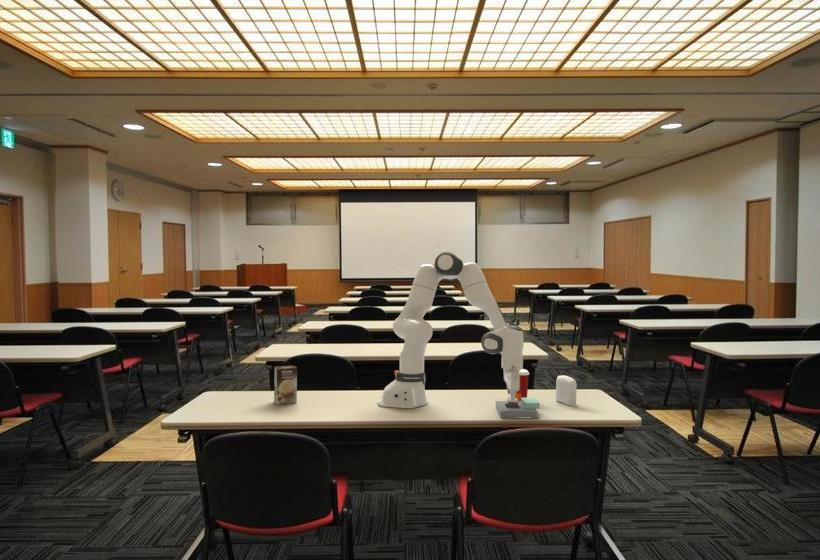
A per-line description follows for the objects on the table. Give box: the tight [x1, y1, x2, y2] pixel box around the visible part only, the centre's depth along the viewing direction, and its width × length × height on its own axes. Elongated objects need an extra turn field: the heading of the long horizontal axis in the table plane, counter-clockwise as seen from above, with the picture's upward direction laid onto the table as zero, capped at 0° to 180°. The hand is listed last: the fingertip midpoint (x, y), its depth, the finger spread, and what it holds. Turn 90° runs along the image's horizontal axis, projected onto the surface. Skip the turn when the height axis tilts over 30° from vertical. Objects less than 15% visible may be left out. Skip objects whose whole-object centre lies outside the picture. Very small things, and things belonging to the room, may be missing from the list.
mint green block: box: [521, 397, 540, 410], centre depth 210 cm, size 6×8×2 cm
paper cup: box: [515, 368, 530, 401], centre depth 229 cm, size 8×8×14 cm
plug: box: [506, 397, 518, 408], centre depth 211 cm, size 4×4×6 cm
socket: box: [495, 400, 538, 419], centre depth 211 cm, size 15×14×3 cm
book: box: [555, 375, 578, 407], centre depth 226 cm, size 10×4×12 cm, turn 25°
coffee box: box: [273, 365, 298, 406], centre depth 225 cm, size 9×6×16 cm
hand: (511, 396), depth 210 cm, fingers open, 8 cm apart
